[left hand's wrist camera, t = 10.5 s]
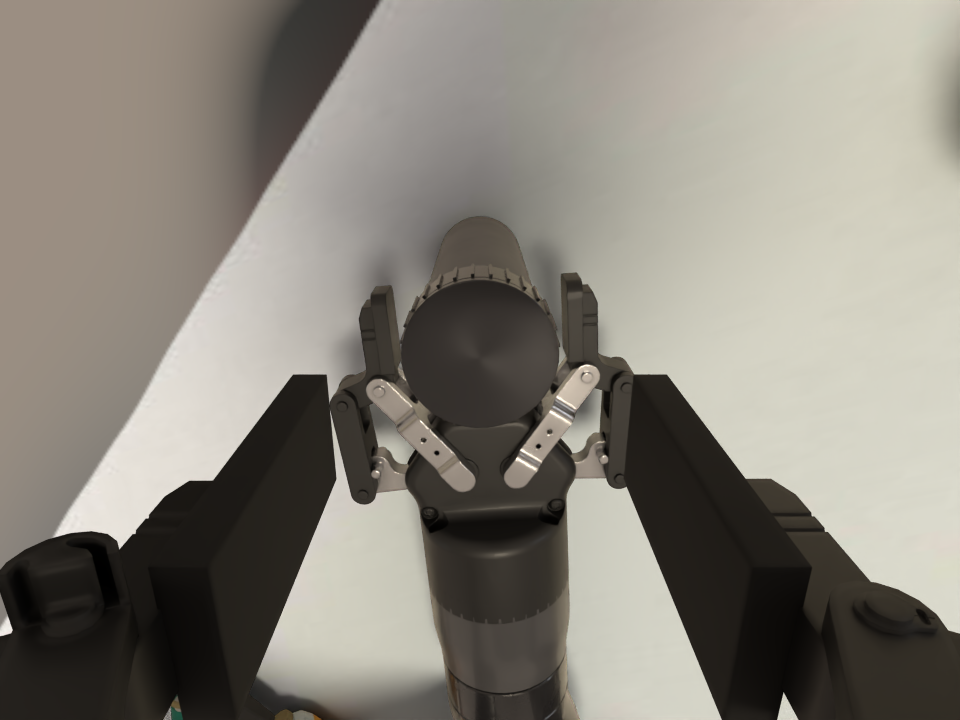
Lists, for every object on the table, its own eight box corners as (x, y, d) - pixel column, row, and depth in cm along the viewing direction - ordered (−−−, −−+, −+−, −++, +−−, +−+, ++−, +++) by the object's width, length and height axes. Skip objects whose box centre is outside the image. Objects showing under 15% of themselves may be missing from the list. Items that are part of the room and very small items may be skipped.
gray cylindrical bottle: (512, 208, 32) (537, 271, 18) (526, 288, 34) (559, 402, 20) (431, 225, 33) (394, 299, 19) (449, 303, 34) (428, 426, 20)
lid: (540, 248, 20) (547, 262, 18) (564, 388, 21) (572, 414, 19) (389, 279, 20) (380, 295, 18) (425, 414, 22) (419, 443, 20)
